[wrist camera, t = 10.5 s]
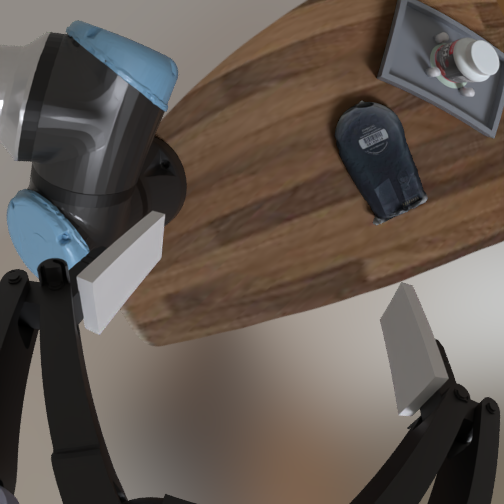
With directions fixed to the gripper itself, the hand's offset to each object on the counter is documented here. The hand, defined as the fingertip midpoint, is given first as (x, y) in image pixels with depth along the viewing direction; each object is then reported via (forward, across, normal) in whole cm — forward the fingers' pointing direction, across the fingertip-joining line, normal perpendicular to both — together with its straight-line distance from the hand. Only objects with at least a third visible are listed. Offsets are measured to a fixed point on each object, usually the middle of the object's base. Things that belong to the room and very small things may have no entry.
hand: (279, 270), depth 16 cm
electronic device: (+27, +10, +4) cm, 29 cm away
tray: (+26, +16, +21) cm, 37 cm away
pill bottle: (+25, +16, +21) cm, 37 cm away
